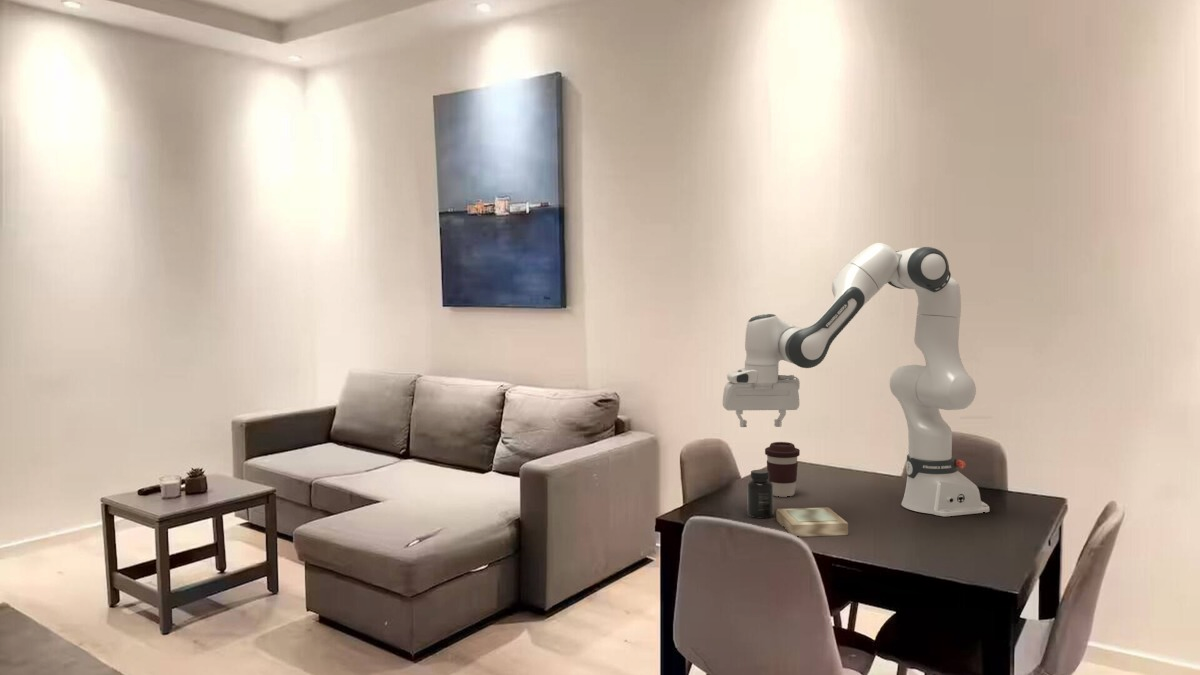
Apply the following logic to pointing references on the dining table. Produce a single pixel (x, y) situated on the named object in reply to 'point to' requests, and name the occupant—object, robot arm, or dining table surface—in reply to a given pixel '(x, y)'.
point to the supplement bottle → (760, 494)
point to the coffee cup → (782, 467)
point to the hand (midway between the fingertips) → (760, 426)
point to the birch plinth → (812, 522)
